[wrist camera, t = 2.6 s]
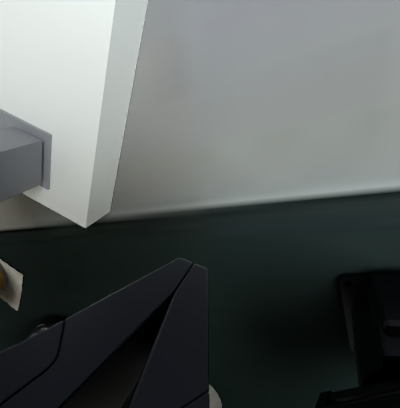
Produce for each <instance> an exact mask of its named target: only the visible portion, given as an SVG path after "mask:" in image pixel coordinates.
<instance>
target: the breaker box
mask: <svg viewBox="0 0 400 408" xmlns="http://www.w3.org/2000/svg"><path fill="white" fill-rule="evenodd" d="M147 5H148V0H0V129H4V128H9V127H14V126H15V127H17V128H19V129H21V130H23V131H25V132H26V133H28V134H30V135H32V136H34V137H36V138H38V139H40V140H42V177H41V185H39V186H37V187H34V188H32V189H30V190H27V191H25V192H23V194H24V195H26V196H28V197H30V198H32V199H33V200H35V201H37V202H39V203H41V204H43V205H44V206H46V207H48V208H50V209H52V210H53V211H55V212H57V213H59V214H61V215H62V216H64V217H66V218H68V219H70V220H71V221H73V222H75V223H77V224H79V225H80V226H82V227H84V228H87V227H88V226H90V225H91V224H93V223H94V222H96V221H97V220H98V219H100V218H101V217H103V216H104V215H106V214H107V213H109V212H110V209H111V203H112V198H113V192H114V187H115V181H116V176H117V170H118V164H119V159H120V153H121V148H122V142H123V137H124V131H125V126H126V120H127V115H128V109H129V104H130V98H131V93H132V87H133V82H134V76H135V71H136V65H137V60H138V54H139V49H140V43H141V38H142V32H143V27H144V21H145V16H146V10H147Z"/></svg>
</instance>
